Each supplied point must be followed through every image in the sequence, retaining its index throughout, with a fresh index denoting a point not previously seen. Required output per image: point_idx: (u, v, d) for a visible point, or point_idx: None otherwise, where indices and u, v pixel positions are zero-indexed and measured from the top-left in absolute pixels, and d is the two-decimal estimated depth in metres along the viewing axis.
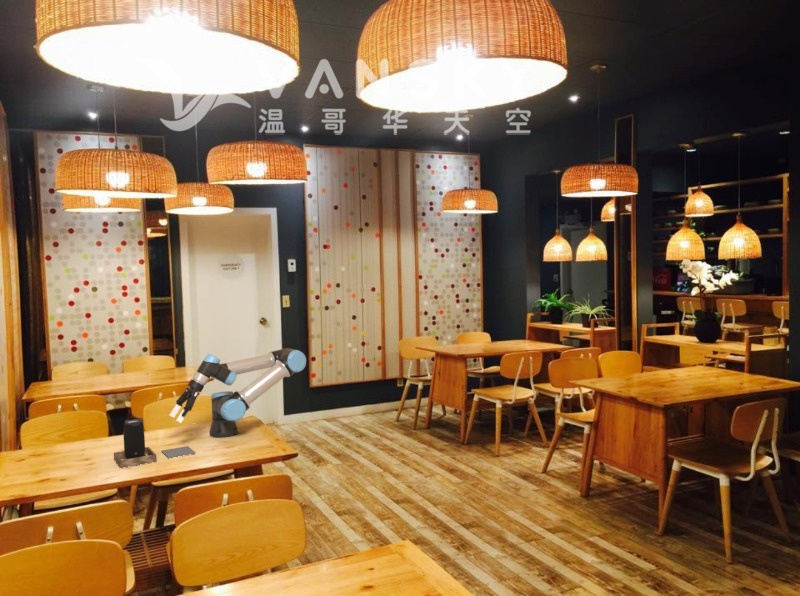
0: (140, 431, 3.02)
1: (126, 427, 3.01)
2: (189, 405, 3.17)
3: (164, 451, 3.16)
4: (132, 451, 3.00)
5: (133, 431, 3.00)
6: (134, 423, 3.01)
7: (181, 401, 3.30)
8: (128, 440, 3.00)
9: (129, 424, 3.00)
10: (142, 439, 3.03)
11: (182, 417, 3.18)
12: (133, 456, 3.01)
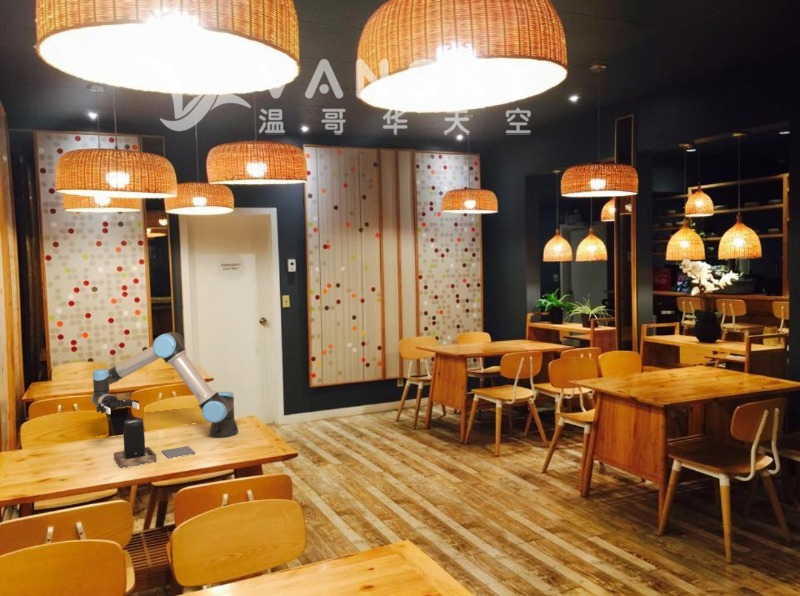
0: (140, 431, 3.02)
1: (126, 427, 3.01)
2: None
3: (164, 451, 3.16)
4: (132, 451, 3.00)
5: (133, 431, 3.00)
6: (134, 423, 3.01)
7: (128, 404, 3.22)
8: (128, 440, 3.00)
9: (129, 424, 3.00)
10: (142, 439, 3.03)
11: (106, 409, 3.09)
12: (133, 456, 3.01)
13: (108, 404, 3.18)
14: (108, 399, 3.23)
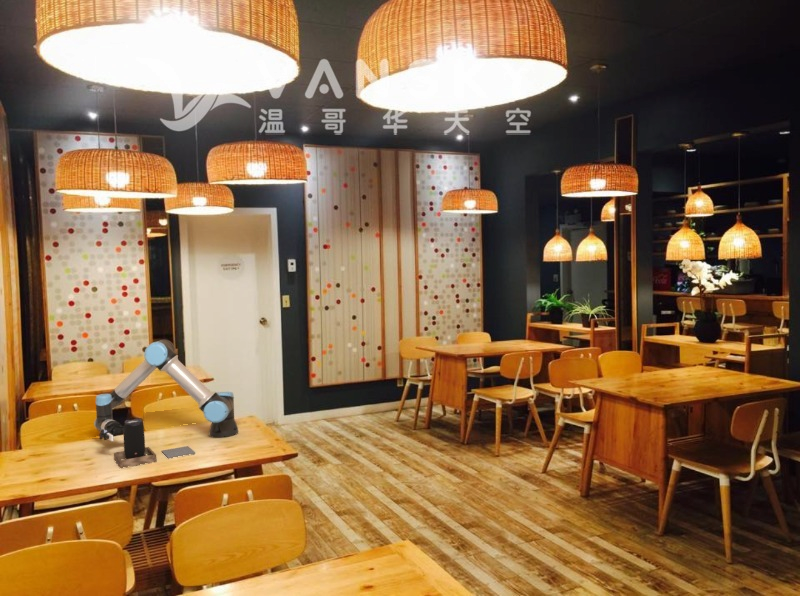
0: (140, 431, 3.02)
1: (126, 427, 3.01)
2: None
3: (164, 451, 3.16)
4: (132, 451, 3.00)
5: (133, 431, 3.00)
6: (134, 423, 3.01)
7: None
8: (128, 440, 3.00)
9: (129, 424, 3.00)
10: (142, 439, 3.03)
11: (109, 436, 3.07)
12: (133, 456, 3.01)
13: (111, 430, 3.16)
14: (111, 425, 3.22)
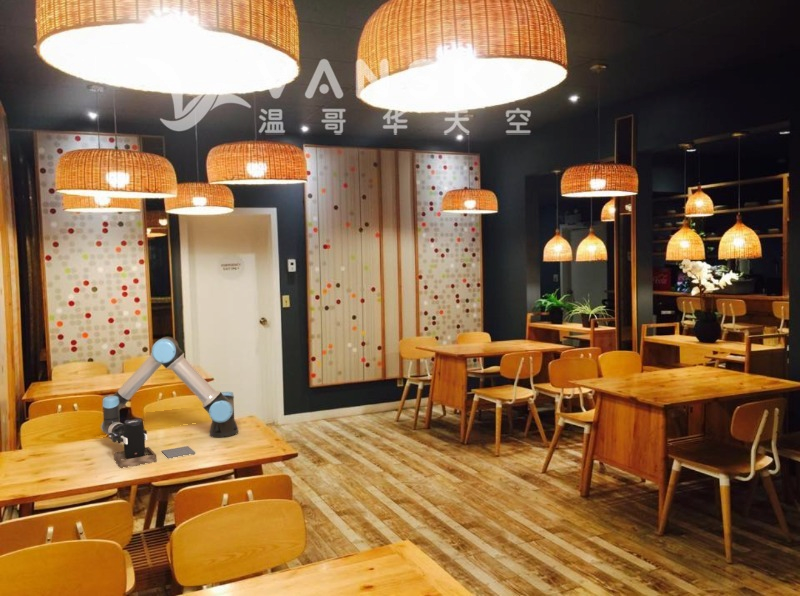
0: (140, 431, 3.02)
1: (126, 427, 3.00)
2: (112, 440, 3.04)
3: (164, 451, 3.16)
4: (132, 451, 3.00)
5: (133, 431, 3.00)
6: (134, 423, 3.01)
7: None
8: (128, 440, 3.00)
9: (129, 424, 3.00)
10: (142, 439, 3.03)
11: (123, 439, 3.01)
12: (133, 456, 3.01)
13: (121, 433, 3.09)
14: (119, 428, 3.15)
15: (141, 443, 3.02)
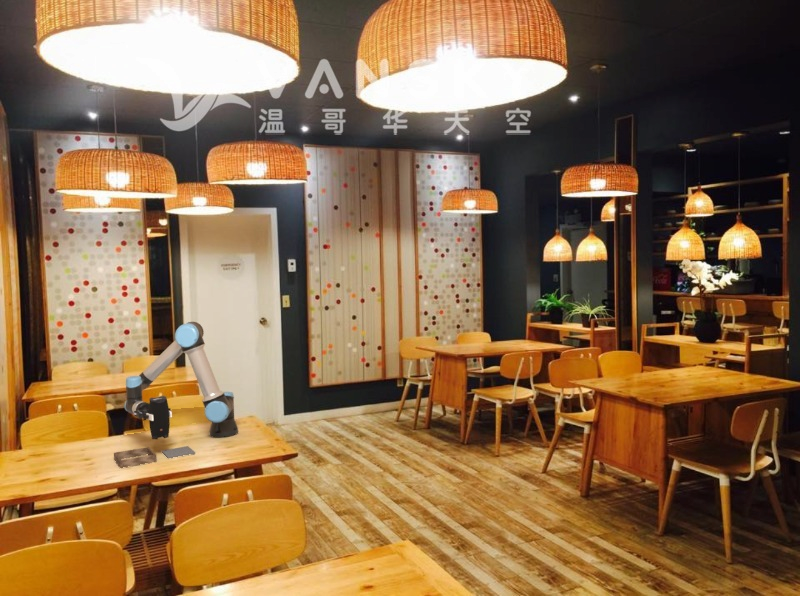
0: (165, 408, 3.09)
1: (151, 404, 3.07)
2: (138, 417, 3.10)
3: (164, 451, 3.16)
4: (157, 427, 3.07)
5: (158, 408, 3.07)
6: (159, 400, 3.07)
7: None
8: (153, 417, 3.07)
9: (154, 401, 3.07)
10: (167, 416, 3.10)
11: (149, 416, 3.07)
12: (159, 432, 3.08)
13: (146, 411, 3.16)
14: (143, 406, 3.21)
15: (166, 420, 3.09)
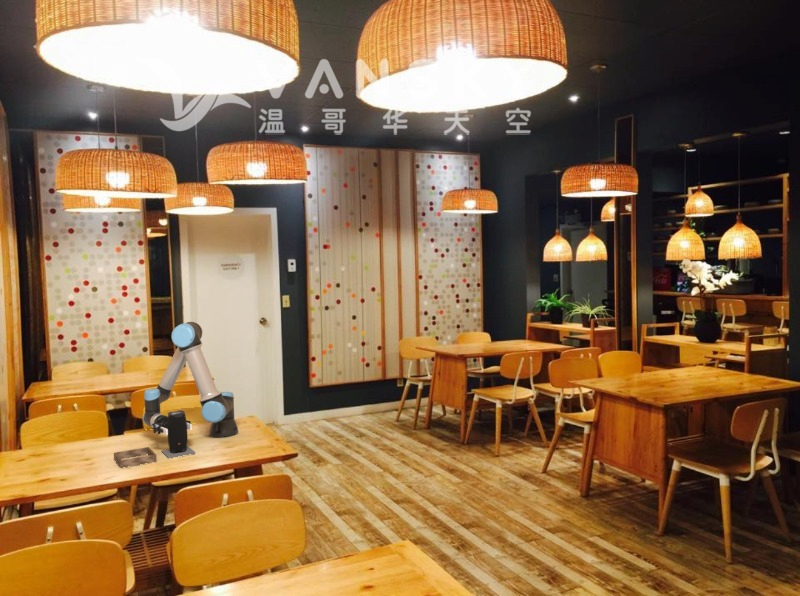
0: (183, 422, 3.13)
1: (170, 418, 3.12)
2: (153, 430, 3.14)
3: (164, 451, 3.16)
4: (176, 441, 3.11)
5: (177, 422, 3.11)
6: (177, 414, 3.12)
7: None
8: (172, 431, 3.11)
9: (173, 415, 3.11)
10: (185, 430, 3.14)
11: (163, 430, 3.11)
12: (177, 446, 3.12)
13: (162, 424, 3.20)
14: (161, 419, 3.26)
15: (184, 434, 3.13)
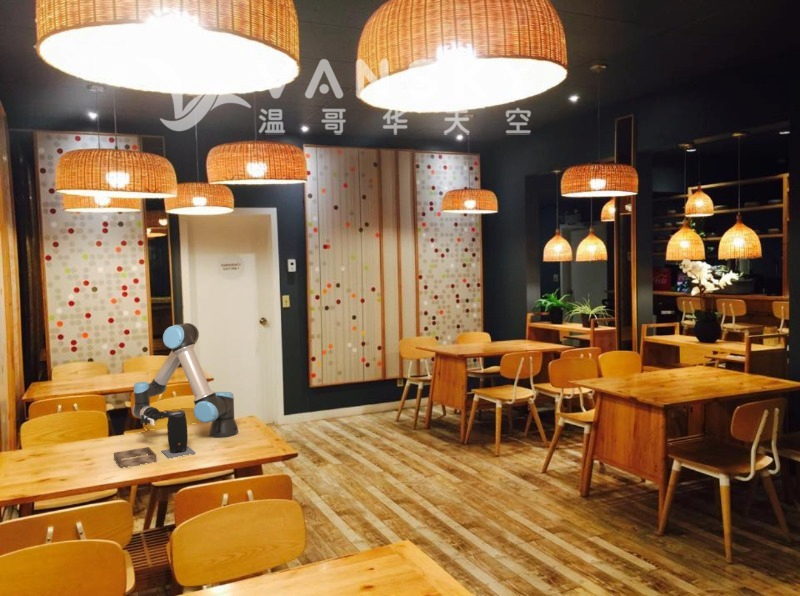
0: (183, 422, 3.13)
1: (170, 418, 3.12)
2: None
3: (164, 451, 3.16)
4: (176, 441, 3.11)
5: (177, 422, 3.11)
6: (178, 414, 3.12)
7: None
8: (172, 431, 3.11)
9: (173, 415, 3.11)
10: (185, 430, 3.14)
11: (150, 421, 3.20)
12: (177, 446, 3.12)
13: (151, 416, 3.29)
14: (150, 411, 3.35)
15: (184, 434, 3.13)
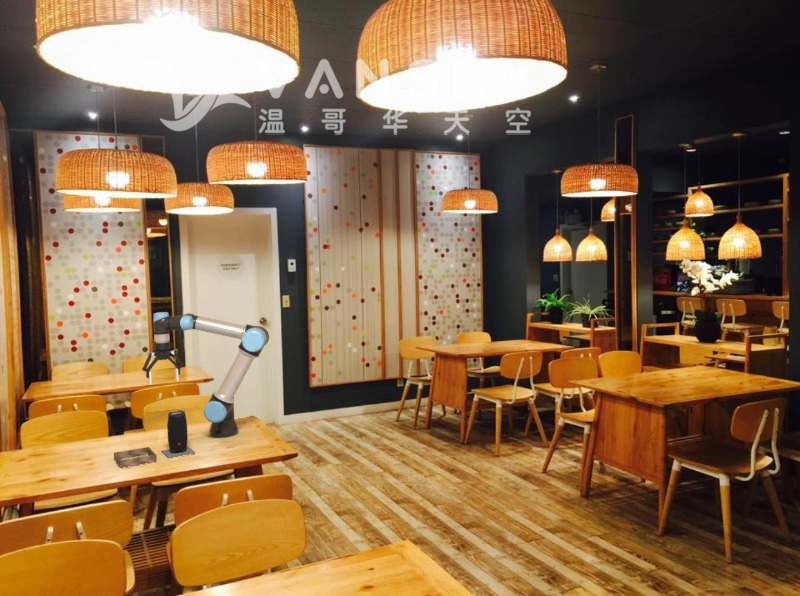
0: (183, 422, 3.13)
1: (170, 418, 3.12)
2: (143, 366, 3.29)
3: (164, 451, 3.16)
4: (176, 441, 3.11)
5: (177, 422, 3.11)
6: (178, 414, 3.12)
7: None
8: (172, 431, 3.11)
9: (173, 415, 3.11)
10: (185, 430, 3.14)
11: (149, 379, 3.30)
12: (177, 446, 3.12)
13: (156, 361, 3.31)
14: (160, 350, 3.31)
15: (184, 434, 3.13)
